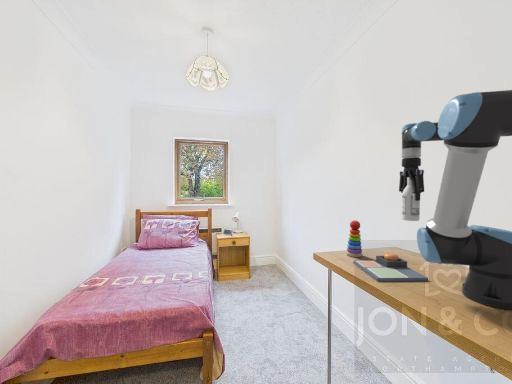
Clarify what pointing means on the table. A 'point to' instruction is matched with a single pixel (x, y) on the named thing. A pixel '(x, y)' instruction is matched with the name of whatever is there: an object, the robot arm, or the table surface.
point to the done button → (391, 257)
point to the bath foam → (409, 203)
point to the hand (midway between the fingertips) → (410, 207)
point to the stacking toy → (354, 240)
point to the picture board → (389, 270)
